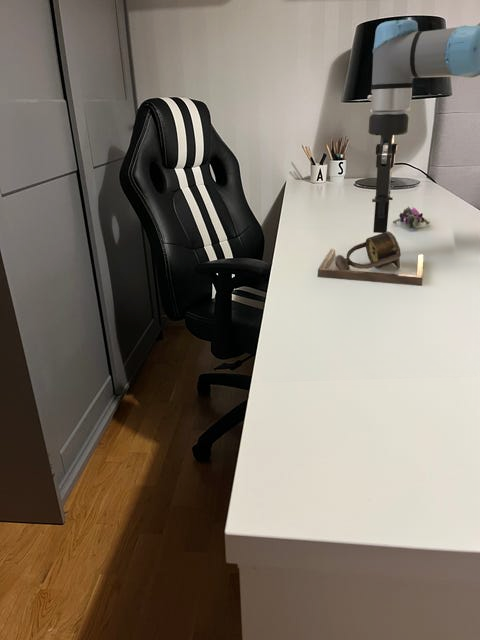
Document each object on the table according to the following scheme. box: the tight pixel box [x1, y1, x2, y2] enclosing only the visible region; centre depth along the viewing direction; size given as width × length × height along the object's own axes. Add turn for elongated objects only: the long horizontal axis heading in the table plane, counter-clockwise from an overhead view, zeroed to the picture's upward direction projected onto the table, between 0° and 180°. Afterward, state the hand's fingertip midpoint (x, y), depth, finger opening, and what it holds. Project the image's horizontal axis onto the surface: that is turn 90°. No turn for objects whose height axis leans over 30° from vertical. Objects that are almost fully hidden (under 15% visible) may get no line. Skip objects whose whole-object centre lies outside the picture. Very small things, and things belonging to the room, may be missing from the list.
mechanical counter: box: [334, 230, 402, 270], centre depth 99 cm, size 7×13×10 cm
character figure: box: [392, 206, 430, 229], centre depth 131 cm, size 9×4×16 cm
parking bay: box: [317, 248, 424, 286], centre depth 99 cm, size 19×14×2 cm
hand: (380, 231), depth 107 cm, fingers closed
